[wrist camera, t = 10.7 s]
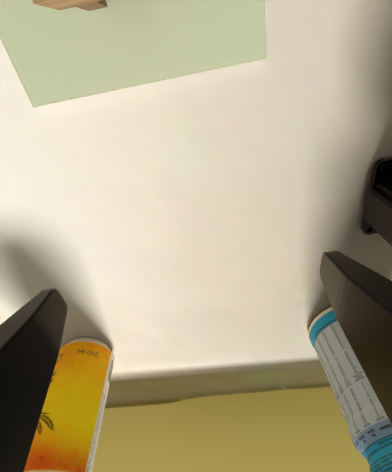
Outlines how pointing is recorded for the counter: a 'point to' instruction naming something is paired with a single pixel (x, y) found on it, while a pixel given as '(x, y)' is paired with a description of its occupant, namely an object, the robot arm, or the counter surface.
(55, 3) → the walnut stool
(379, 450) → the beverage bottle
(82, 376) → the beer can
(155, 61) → the sage board
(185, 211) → the counter surface
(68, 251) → the counter surface
